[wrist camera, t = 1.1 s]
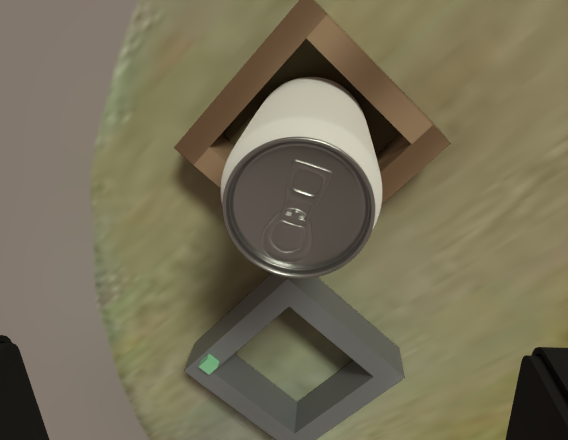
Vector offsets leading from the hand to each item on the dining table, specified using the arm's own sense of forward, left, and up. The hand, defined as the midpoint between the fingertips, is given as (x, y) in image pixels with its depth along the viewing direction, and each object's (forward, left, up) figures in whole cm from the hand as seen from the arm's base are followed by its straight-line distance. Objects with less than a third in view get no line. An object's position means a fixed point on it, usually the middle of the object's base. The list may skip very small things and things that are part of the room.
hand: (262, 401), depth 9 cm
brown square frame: (0, 0, -21) cm, 21 cm away
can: (0, 0, -22) cm, 22 cm away
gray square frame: (-10, +12, -21) cm, 27 cm away
